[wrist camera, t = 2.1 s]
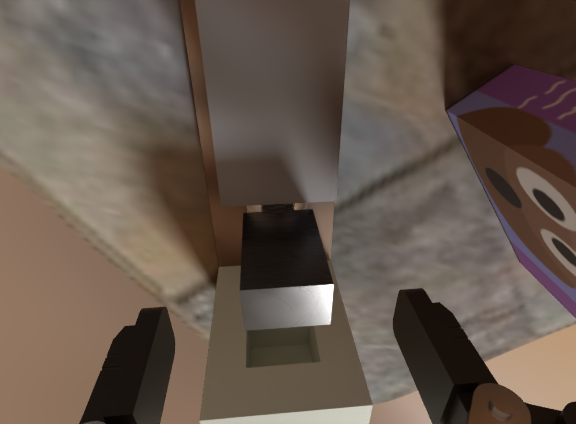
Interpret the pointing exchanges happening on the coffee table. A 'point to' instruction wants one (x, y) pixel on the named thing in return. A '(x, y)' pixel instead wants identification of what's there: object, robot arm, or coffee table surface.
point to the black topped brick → (283, 269)
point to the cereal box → (528, 167)
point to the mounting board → (267, 107)
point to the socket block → (281, 367)
